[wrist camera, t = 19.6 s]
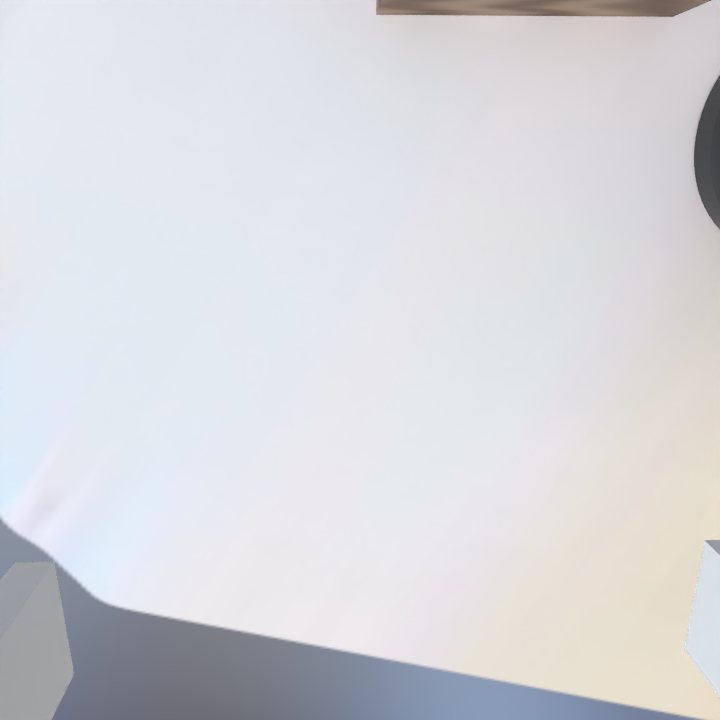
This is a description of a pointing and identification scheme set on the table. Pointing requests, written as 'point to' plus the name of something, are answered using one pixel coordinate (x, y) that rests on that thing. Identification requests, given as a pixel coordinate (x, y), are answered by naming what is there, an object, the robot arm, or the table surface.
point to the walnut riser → (538, 7)
